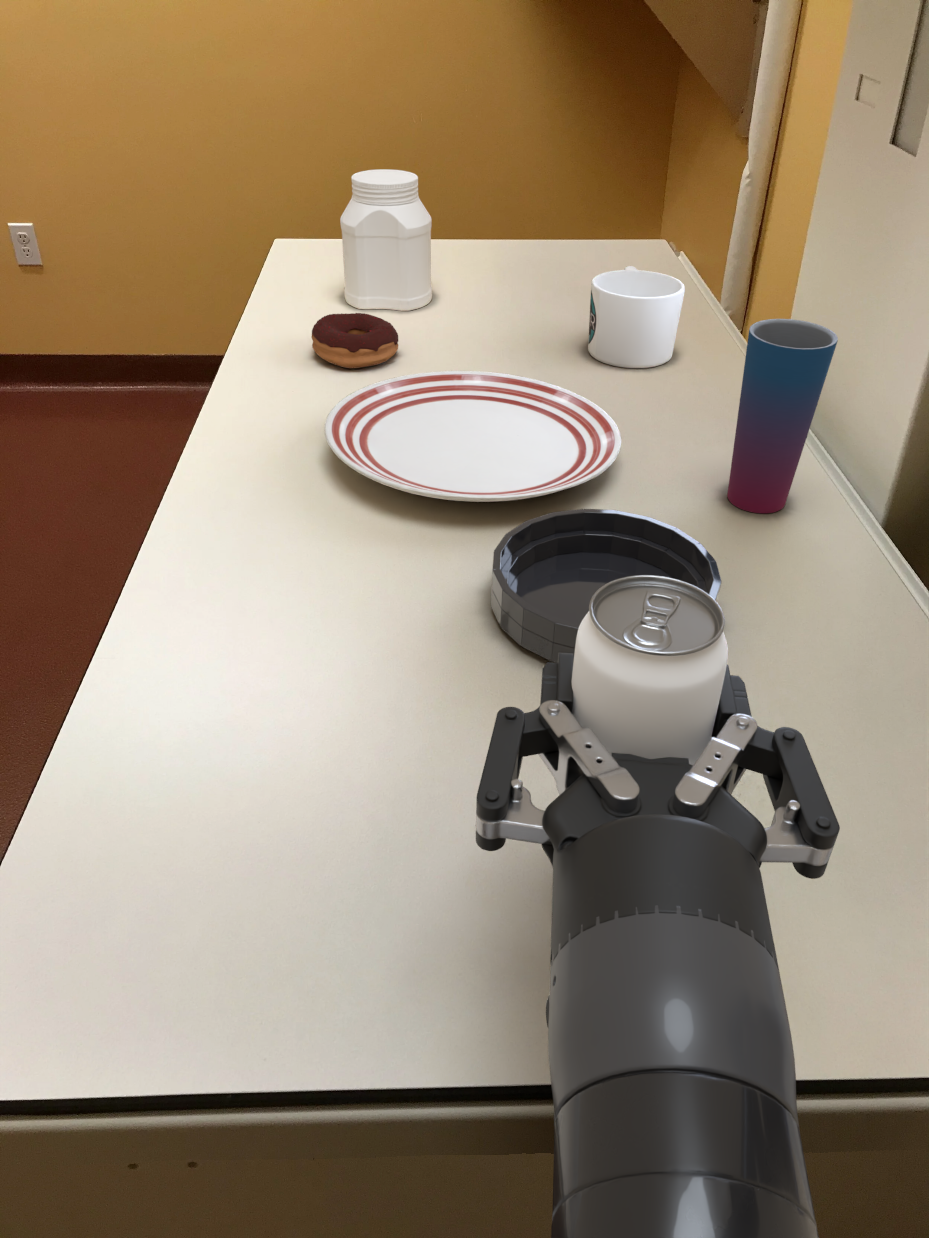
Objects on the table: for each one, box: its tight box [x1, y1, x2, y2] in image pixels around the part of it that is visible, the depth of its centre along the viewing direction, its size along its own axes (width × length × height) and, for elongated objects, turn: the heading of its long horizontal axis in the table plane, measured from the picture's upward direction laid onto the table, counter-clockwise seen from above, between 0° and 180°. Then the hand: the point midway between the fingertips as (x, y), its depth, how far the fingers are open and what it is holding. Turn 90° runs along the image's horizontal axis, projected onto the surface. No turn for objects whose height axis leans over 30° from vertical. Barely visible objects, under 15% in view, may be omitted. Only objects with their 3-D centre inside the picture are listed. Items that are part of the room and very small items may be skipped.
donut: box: [311, 312, 399, 369], centre depth 109 cm, size 10×10×4 cm
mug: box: [587, 265, 686, 369], centre depth 111 cm, size 13×10×8 cm
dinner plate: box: [324, 370, 622, 503], centre depth 90 cm, size 27×27×3 cm
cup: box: [726, 318, 839, 514], centre depth 80 cm, size 7×7×15 cm
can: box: [572, 575, 729, 765], centre depth 43 cm, size 6×6×12 cm
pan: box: [490, 508, 723, 663], centre depth 70 cm, size 16×16×4 cm
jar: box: [339, 168, 433, 312], centre depth 123 cm, size 12×10×15 cm
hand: (639, 673), depth 45 cm, fingers closed on can, 6 cm apart
